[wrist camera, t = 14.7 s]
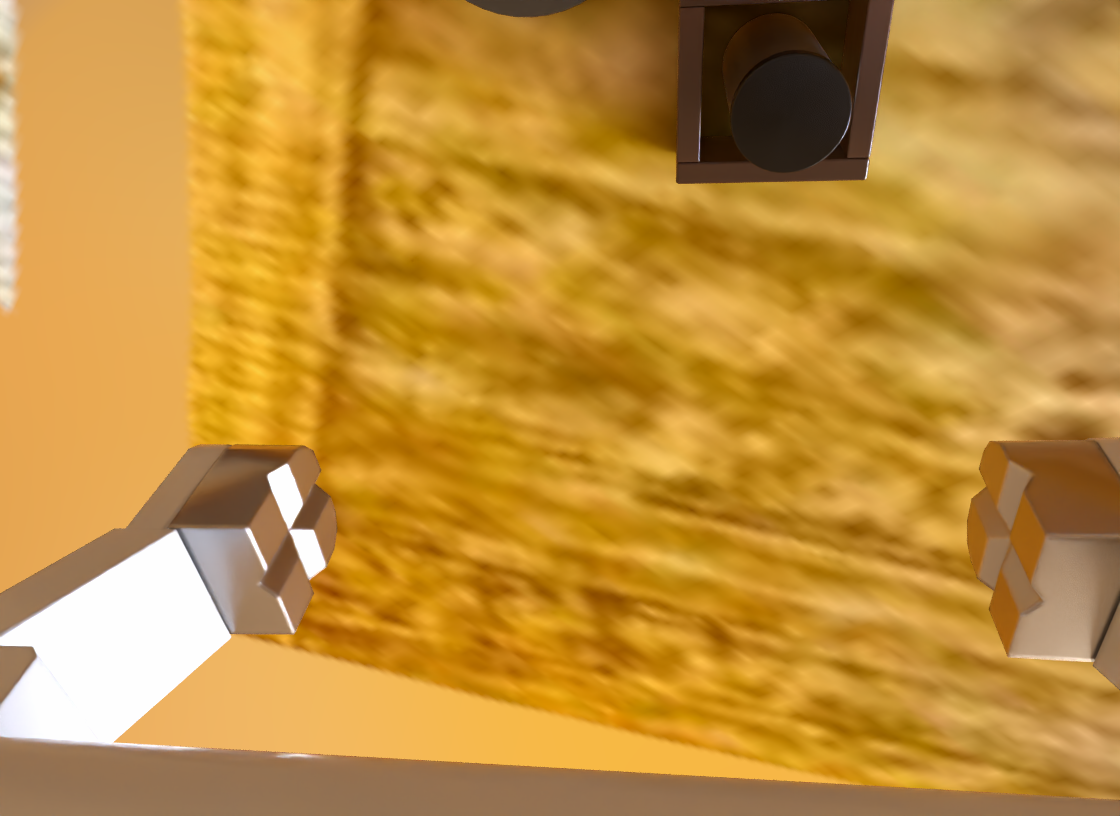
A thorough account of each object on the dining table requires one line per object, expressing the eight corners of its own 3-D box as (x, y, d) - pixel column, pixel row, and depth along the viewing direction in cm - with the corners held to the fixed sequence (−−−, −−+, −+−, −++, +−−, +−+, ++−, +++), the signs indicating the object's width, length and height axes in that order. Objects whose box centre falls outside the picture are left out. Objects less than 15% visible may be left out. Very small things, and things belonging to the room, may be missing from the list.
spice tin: (776, -12, 28) (799, 25, 23) (841, 61, 29) (877, 113, 24) (700, 67, 30) (705, 118, 25) (764, 133, 31) (782, 196, 26)
